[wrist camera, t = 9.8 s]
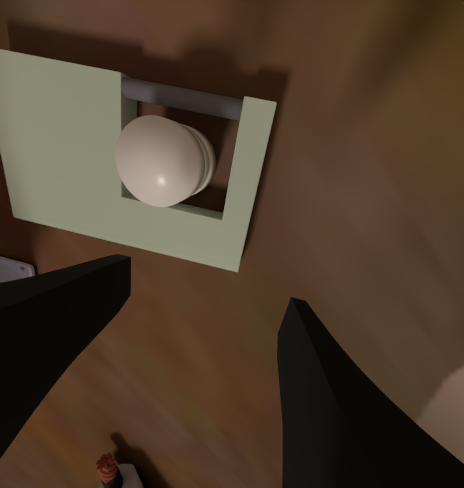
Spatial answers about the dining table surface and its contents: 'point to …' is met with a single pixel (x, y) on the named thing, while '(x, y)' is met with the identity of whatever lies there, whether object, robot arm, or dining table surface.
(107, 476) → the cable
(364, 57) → the dining table surface
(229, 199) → the pale green panel
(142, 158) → the white round knob
